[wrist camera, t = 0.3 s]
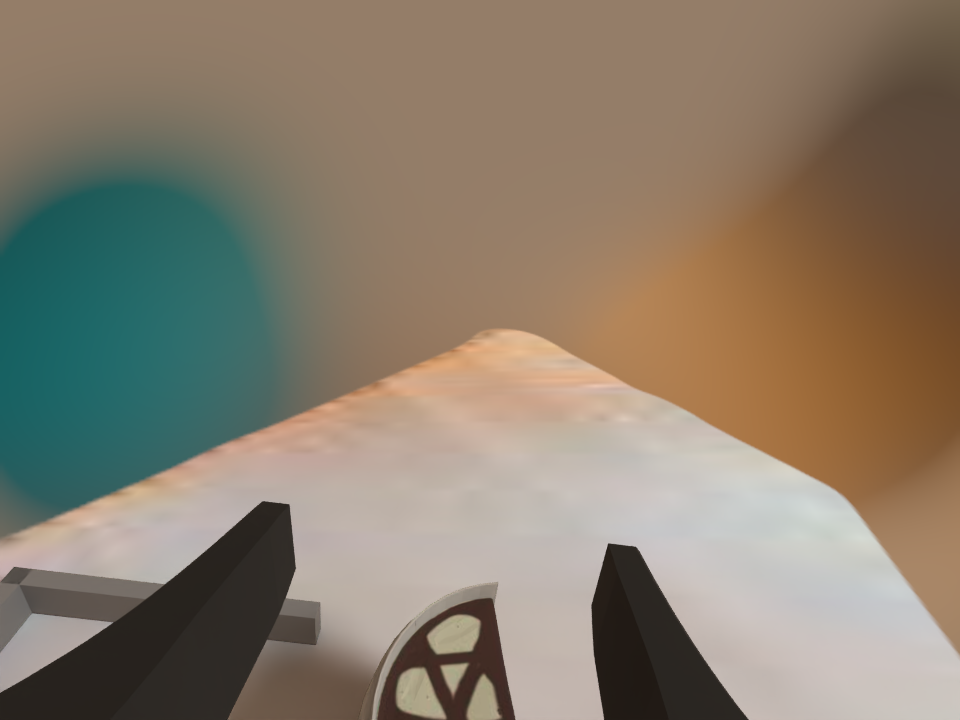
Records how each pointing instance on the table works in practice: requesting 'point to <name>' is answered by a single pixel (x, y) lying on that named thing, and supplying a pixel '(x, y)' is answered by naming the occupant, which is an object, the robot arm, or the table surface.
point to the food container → (444, 664)
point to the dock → (115, 602)
